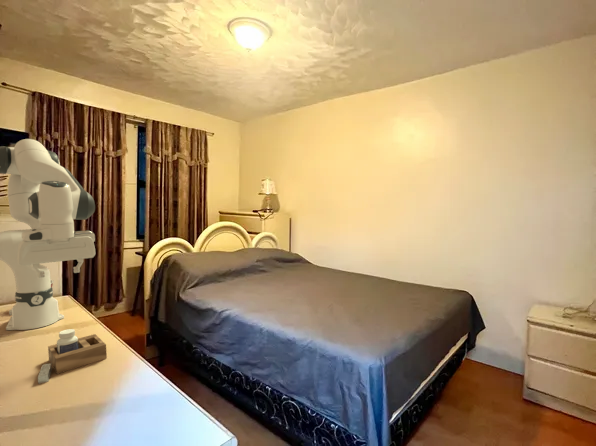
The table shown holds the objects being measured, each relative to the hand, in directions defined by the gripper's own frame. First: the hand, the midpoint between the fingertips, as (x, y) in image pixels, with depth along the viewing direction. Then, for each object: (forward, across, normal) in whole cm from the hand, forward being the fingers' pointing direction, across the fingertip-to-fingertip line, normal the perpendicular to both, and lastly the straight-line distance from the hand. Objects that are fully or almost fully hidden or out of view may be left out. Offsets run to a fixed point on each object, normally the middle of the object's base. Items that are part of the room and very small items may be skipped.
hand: (59, 274), depth 106 cm
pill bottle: (+26, 0, +9) cm, 28 cm away
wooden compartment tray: (+26, -2, +9) cm, 28 cm away
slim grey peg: (+26, +7, +14) cm, 30 cm away
